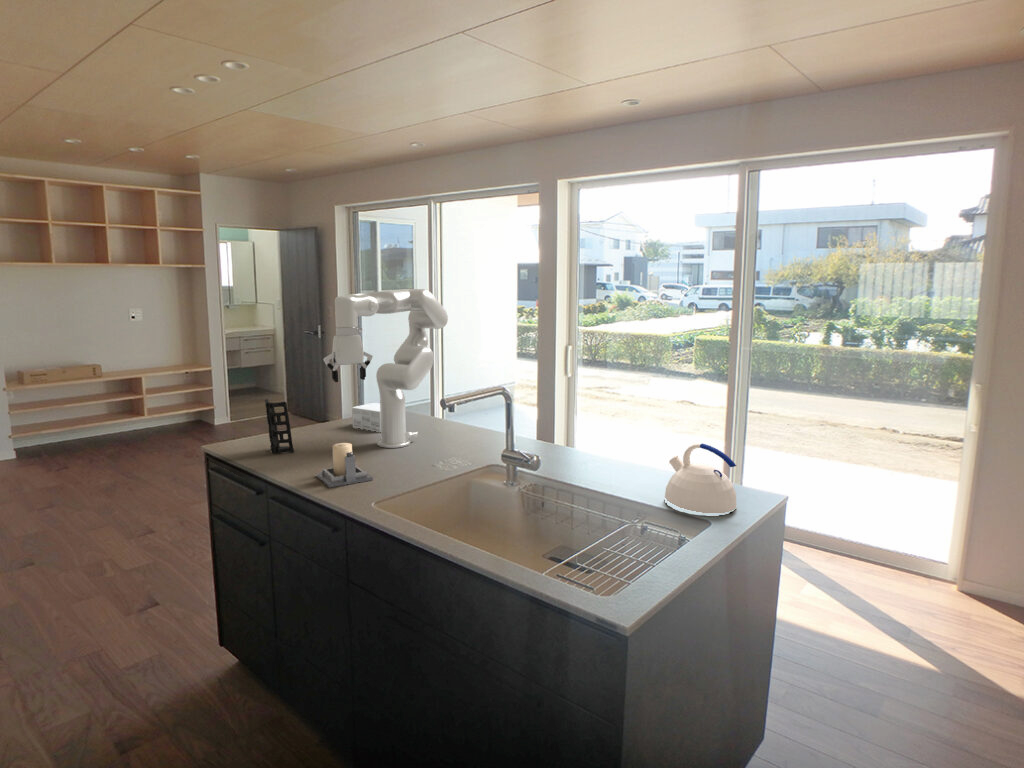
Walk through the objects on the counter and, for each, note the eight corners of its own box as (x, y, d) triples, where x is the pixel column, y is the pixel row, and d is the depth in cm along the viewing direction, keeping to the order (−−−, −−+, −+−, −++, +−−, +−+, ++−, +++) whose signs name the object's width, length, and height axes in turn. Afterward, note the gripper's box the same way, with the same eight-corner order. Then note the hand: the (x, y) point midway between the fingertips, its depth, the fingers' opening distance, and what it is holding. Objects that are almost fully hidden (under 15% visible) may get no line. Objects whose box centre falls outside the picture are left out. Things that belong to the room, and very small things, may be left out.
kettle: (687, 487, 199) (689, 431, 196) (750, 505, 184) (754, 444, 181) (648, 503, 186) (651, 443, 182) (713, 523, 171) (717, 458, 168)
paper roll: (349, 471, 211) (348, 441, 209) (355, 476, 206) (354, 445, 204) (331, 474, 208) (330, 444, 206) (337, 479, 203) (336, 448, 201)
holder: (300, 449, 240) (293, 398, 235) (287, 456, 233) (280, 404, 228) (276, 447, 243) (269, 396, 238) (263, 454, 236) (255, 402, 231)
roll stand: (357, 468, 217) (356, 440, 215) (373, 480, 205) (372, 450, 203) (315, 475, 210) (314, 446, 208) (329, 488, 197) (328, 457, 195)
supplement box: (402, 427, 277) (401, 406, 276) (380, 433, 266) (379, 411, 265) (374, 422, 286) (373, 401, 285) (352, 428, 275) (351, 406, 274)
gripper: (367, 330, 230) (369, 377, 233) (319, 332, 221) (321, 381, 223) (375, 331, 224) (376, 379, 227) (325, 334, 214) (328, 384, 217)
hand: (349, 380), depth 225 cm, fingers open, 9 cm apart
